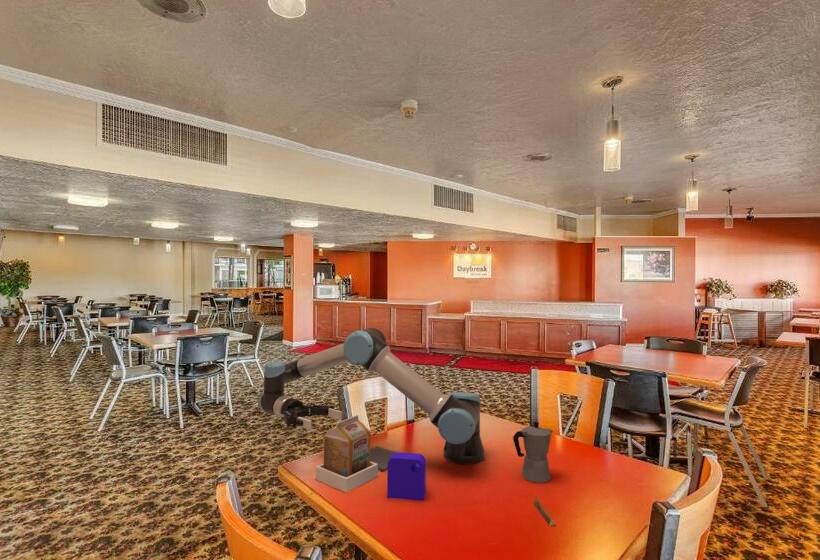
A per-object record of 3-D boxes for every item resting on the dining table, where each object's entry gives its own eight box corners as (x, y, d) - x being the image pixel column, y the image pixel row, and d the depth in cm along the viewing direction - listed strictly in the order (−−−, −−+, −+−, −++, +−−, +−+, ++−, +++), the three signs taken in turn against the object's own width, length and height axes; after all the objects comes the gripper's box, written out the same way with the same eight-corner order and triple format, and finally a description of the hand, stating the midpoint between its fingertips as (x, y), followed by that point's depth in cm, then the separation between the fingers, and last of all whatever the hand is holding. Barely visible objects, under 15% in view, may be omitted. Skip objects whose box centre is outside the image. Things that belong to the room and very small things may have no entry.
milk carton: (348, 488, 129) (349, 426, 130) (323, 480, 135) (324, 420, 135) (369, 475, 138) (370, 417, 138) (345, 468, 144) (345, 412, 144)
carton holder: (377, 476, 138) (378, 464, 138) (345, 492, 126) (346, 479, 126) (347, 465, 146) (347, 453, 146) (315, 479, 135) (315, 466, 135)
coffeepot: (543, 468, 145) (543, 416, 145) (562, 480, 136) (562, 424, 137) (505, 474, 140) (505, 420, 140) (522, 487, 131) (522, 429, 131)
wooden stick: (540, 504, 121) (540, 496, 122) (557, 527, 109) (557, 519, 110) (531, 504, 121) (531, 496, 121) (547, 528, 109) (547, 519, 109)
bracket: (423, 501, 122) (424, 460, 122) (387, 498, 124) (387, 457, 124) (430, 474, 140) (430, 438, 140) (398, 472, 141) (398, 436, 142)
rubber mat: (409, 458, 152) (409, 456, 152) (383, 471, 141) (383, 469, 141) (376, 448, 162) (376, 446, 162) (350, 459, 151) (350, 457, 151)
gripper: (315, 411, 166) (352, 422, 153) (258, 426, 146) (295, 441, 133) (315, 392, 166) (353, 402, 153) (258, 405, 146) (296, 417, 133)
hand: (326, 420), depth 143 cm, fingers open, 13 cm apart
